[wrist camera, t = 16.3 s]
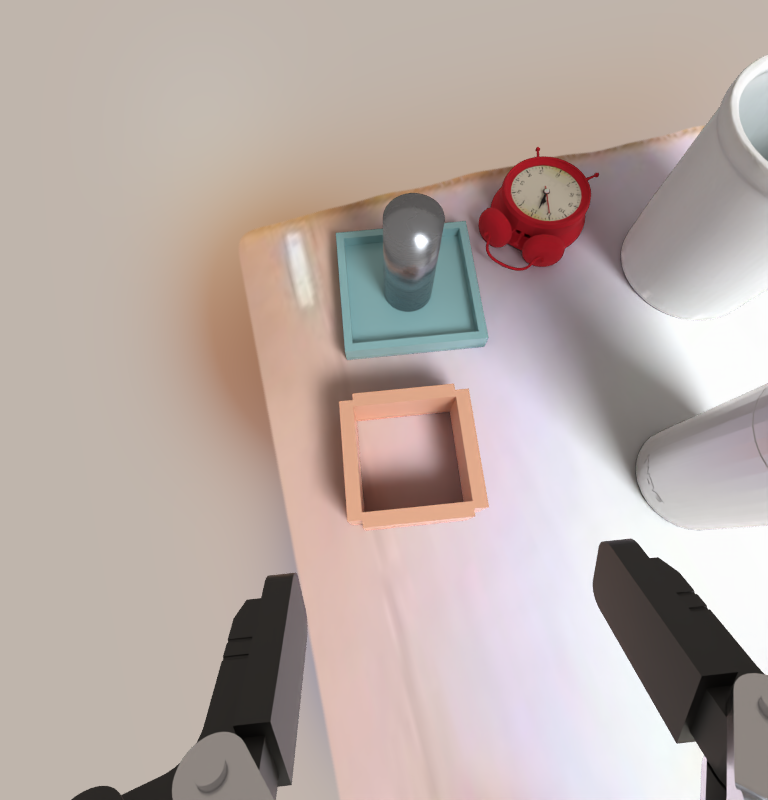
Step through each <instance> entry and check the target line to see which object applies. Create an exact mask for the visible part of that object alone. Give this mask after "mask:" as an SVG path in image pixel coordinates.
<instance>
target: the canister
mask: <svg viewBox="0 0 768 800" xmlns="http://www.w3.org/2000/svg"><path fill="white" fill-rule="evenodd" d="M444 222H445V216H444V212H443V210H442V208H441V206H440V205H439V204H438V203H437V202H436V201H435V200H434V199H432V198H431V197H429V196H426V195H423V194H419V193H408V194H403V195H400V196H398V197H396V198H395V199H393V200H392V201H391V202H390V203H389V204H388V205H387V207H386V208H385V211H384V214H383V269H384V296H385V298H386V300H387V302H388V303H389V304H390V305H391V306H392V307H393V308H395V309H397V310H400V311H404V312H412V311H416V310H419V309H421V308H422V307H424V306H425V305H426V304H427V303H428V301H429V300H430V297H431V293H432V288H433V283H434V277H435V272H436V266H437V261H438V255H439V250H440V244H441V239H442V233H443V228H444Z"/></svg>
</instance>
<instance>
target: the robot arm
mask: <svg viewBox="0 0 768 800" xmlns="http://www.w3.org/2000/svg"><path fill="white" fill-rule="evenodd" d="M636 476H637V482H638V485H639V487H640V490H641V493H642V494H643V496H644V498H645V499H646V501H647V503H648V504H649V505H650V506H651V507H652V508H653V509H654V511H655V512H656V513H658V514H659V515H660V516H661V517H663V518H664V519H665V520H667V521H669V522H671V523H673V524H674V525H676V526H679V527H683V528H686V529H691V530H710V529H724V528H740V527H754V526H767V525H768V383H767V384H765V385H763V386H761V387H759V388H756V389H754V390H752V391H750V392H747V393H745V394H743V395H741V396H739V397H736V398H734V399H732V400H730V401H727V402H725V403H723V404H721V405H719V406H716V407H714V408H712V409H710V410H708V411H705V412H703V413H701V414H699V415H696V416H694V417H692V418H690V419H688V420H685V421H683V422H681V423H678V424H676V425H674V426H672V427H670V428H667V429H665V430H663V431H661V432H659V433H657V434H655V435H654V436H652V437H650V438H649V439H648V440H647V441H646V442H645V443H644V444H643V446H642V448H641V450H640V451H639V454H638V457H637V461H636ZM593 592H594V596H595V600H596V602H597V605H598V607H599V609H600V611H601V612H602V614H603V616H604V618H605V619H606V621H607V623H608V624H609V626H610V628H611V630H612V631H613V633H614V635H615V637H616V638H617V640H618V642H619V644H620V645H621V647H622V649H623V651H624V652H625V654H626V656H627V658H628V659H629V661H630V663H631V665H632V666H633V668H634V670H635V672H636V673H637V675H638V677H639V679H640V680H641V682H642V684H643V686H644V687H645V689H646V691H647V692H648V694H649V696H650V698H651V699H652V701H653V703H654V705H655V706H656V708H657V710H658V712H659V713H660V715H661V717H662V719H663V720H664V722H665V724H666V726H667V727H668V729H669V731H670V733H671V734H672V736H673V738H674V740H675V741H676V743H677V744H678V743H686V742H695V741H696V742H697V744H698V746H699V747H700V749H701V751H702V752H703V754H704V757H703V759H702V771H701V795H700V800H768V675H765V674H764V673H763V672H762V671H761V670H760V669H759V668H758V667H757V666H756V664H755V663H754V662H753V661H752V660H751V658H750V657H749V656H748V655H747V654H746V652H745V651H744V650H743V649H742V648H741V646H740V645H739V644H738V643H737V642H736V640H735V639H734V638H733V637H732V635H731V634H730V633H729V632H728V631H727V629H726V628H725V627H724V626H723V625H722V623H721V622H720V621H719V620H718V619H717V617H716V616H715V615H714V614H713V613H712V611H711V610H708V609H707V605H706V604H705V603H704V602H703V601H702V599H701V598H700V597H699V596H698V595H697V594H695V593H694V590H693V589H692V587H691V586H690V585H689V584H688V583H687V581H686V580H685V579H684V578H683V577H682V575H681V574H680V573H679V572H678V571H676V570H675V569H674V568H672V567H671V566H669V565H668V564H667V563H665V562H664V561H662V560H661V559H659V558H658V557H657V558H649V557H648V556H647V555H646V553H645V552H644V551H643V549H642V548H641V547H640V546H639V544H638V543H637V542H636V541H635V540H633V539H623V540H613V541H604V542H601V543H600V545H599V549H598V555H597V561H596V567H595V572H594V578H593ZM306 642H307V615H306V609H305V605H304V601H303V596H302V592H301V588H300V583H299V579H298V575H297V573H289V574H280V575H270V576H267V578H266V580H265V584H264V588H263V593H262V597H261V598H260V599H250V600H246V602H245V603H244V605H243V606H242V607H241V609H240V610H239V612H238V613H237V615H236V616H235V618H234V619H233V623H232V627H231V630H230V634H229V638H228V643H227V645H226V648H225V652H224V655H223V661H222V663H221V666H220V670H219V674H218V677H217V681H216V684H215V688H214V691H213V695H212V699H211V702H210V706H209V709H208V713H207V717H206V720H205V724H204V727H203V730H202V733H201V735H200V737H199V739H198V741H197V743H196V744H195V745H194V746H193V747H192V748H191V749H190V750H189V751H188V752H187V754H186V755H185V756H184V758H183V759H182V761H181V762H180V763H179V764H178V765H177V766H176V767H175V768H174V769H172V770H171V771H169V772H168V773H166V774H164V775H162V776H161V777H158V778H156V779H154V780H152V781H150V782H148V783H146V784H144V785H142V786H140V787H138V788H135V789H133V790H131V791H129V792H127V793H125V794H123V795H120V793H119V792H118V791H117V790H115V789H114V788H112V787H109V786H98V787H94V788H91V789H89V790H86V791H84V792H82V793H80V794H79V795H77V796H76V797H74V798H73V799H72V800H276V794H277V787H278V786H287V785H292V776H293V765H294V757H295V747H296V737H297V728H298V719H299V709H300V699H301V690H302V680H303V671H304V661H305V651H306Z"/></svg>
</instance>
